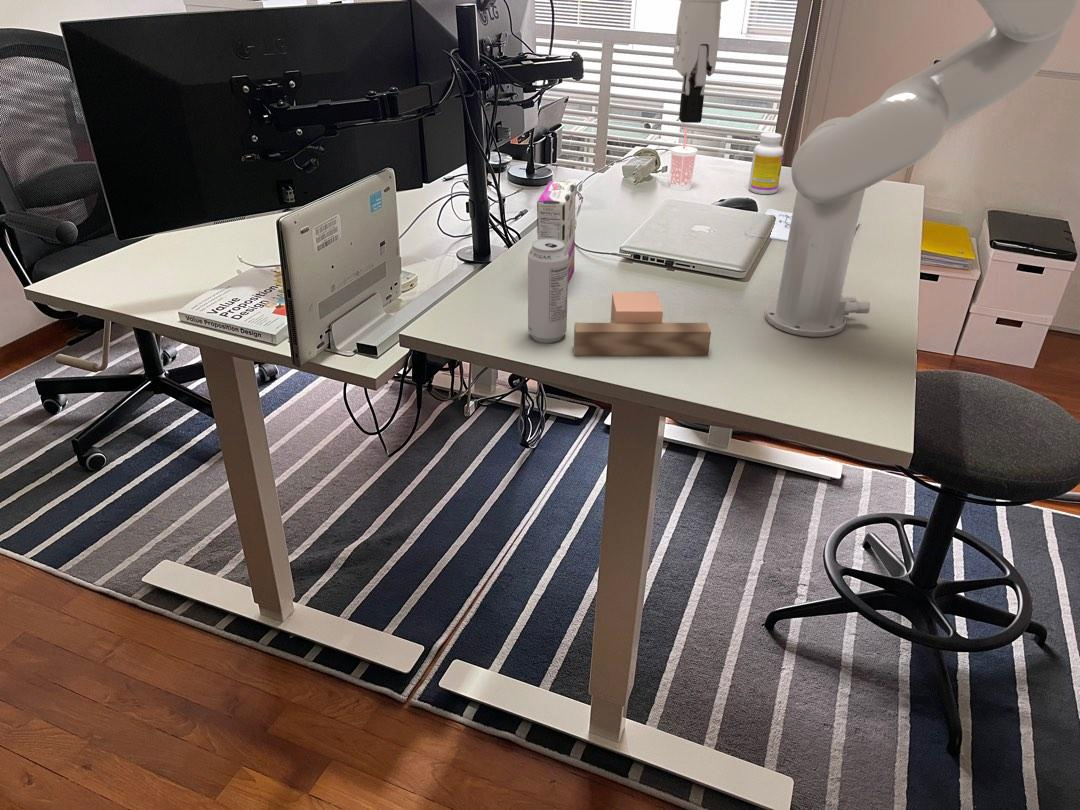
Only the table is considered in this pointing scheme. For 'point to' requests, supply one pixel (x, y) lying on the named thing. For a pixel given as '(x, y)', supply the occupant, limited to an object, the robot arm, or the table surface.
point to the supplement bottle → (766, 164)
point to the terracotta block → (636, 307)
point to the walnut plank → (641, 339)
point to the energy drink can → (547, 290)
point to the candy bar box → (558, 216)
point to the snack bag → (782, 224)
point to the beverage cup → (682, 166)
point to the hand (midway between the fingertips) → (689, 121)
